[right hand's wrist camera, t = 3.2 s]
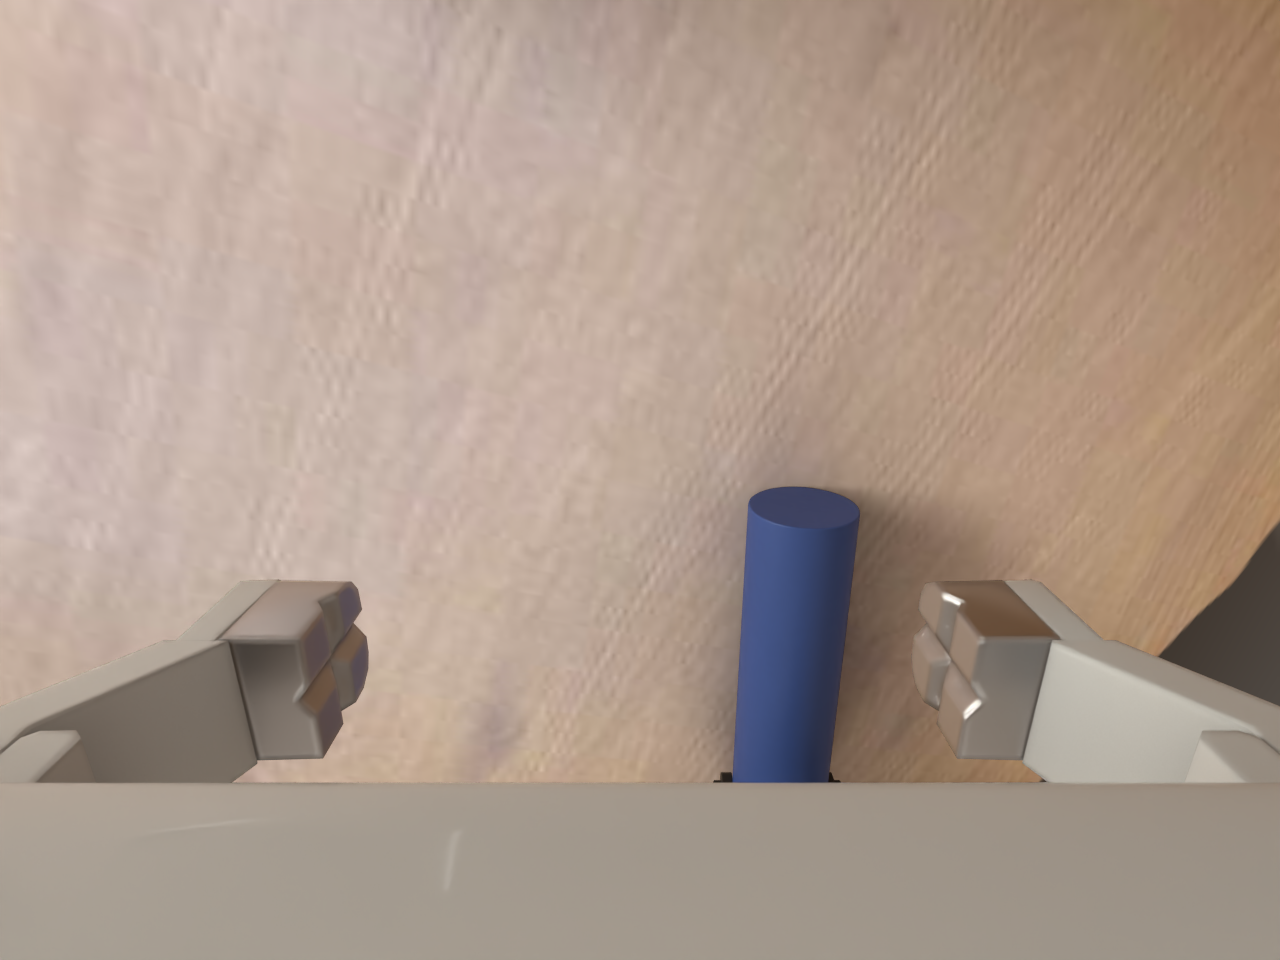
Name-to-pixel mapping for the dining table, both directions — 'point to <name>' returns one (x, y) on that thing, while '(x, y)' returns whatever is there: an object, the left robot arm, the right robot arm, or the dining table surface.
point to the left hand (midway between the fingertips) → (774, 782)
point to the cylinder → (792, 633)
